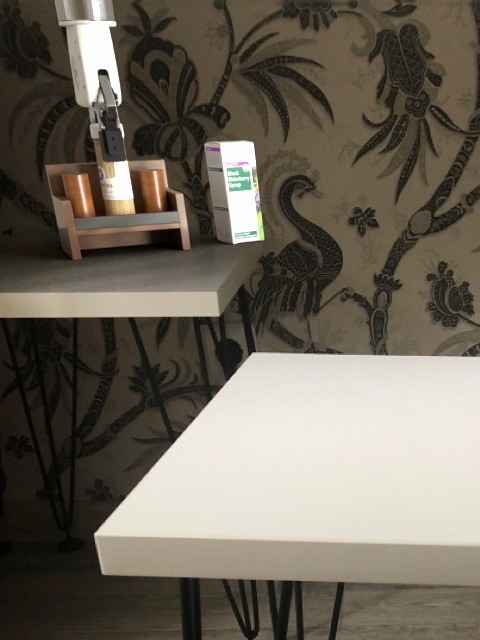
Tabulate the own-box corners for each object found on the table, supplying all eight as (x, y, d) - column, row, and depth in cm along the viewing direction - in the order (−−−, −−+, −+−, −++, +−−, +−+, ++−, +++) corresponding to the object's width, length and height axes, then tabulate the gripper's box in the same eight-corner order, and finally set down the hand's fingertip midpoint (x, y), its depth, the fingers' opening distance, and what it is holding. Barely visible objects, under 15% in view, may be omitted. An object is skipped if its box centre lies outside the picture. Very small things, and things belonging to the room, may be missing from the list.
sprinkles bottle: (100, 223, 139) (82, 123, 132) (125, 219, 142) (108, 122, 135) (120, 225, 136) (102, 124, 130) (144, 221, 140) (128, 122, 133)
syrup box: (233, 244, 145) (221, 142, 138) (216, 240, 149) (203, 141, 142) (265, 240, 148) (254, 140, 141) (247, 236, 152) (236, 139, 145)
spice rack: (73, 260, 134) (55, 170, 128) (62, 250, 142) (45, 165, 136) (191, 249, 141) (178, 164, 135) (174, 240, 149) (162, 159, 143)
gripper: (48, 16, 131) (75, 157, 140) (67, 10, 118) (95, 166, 127) (102, 17, 134) (125, 155, 143) (126, 11, 121) (150, 163, 130)
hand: (111, 159), depth 135 cm, fingers closed on sprinkles bottle, 4 cm apart
